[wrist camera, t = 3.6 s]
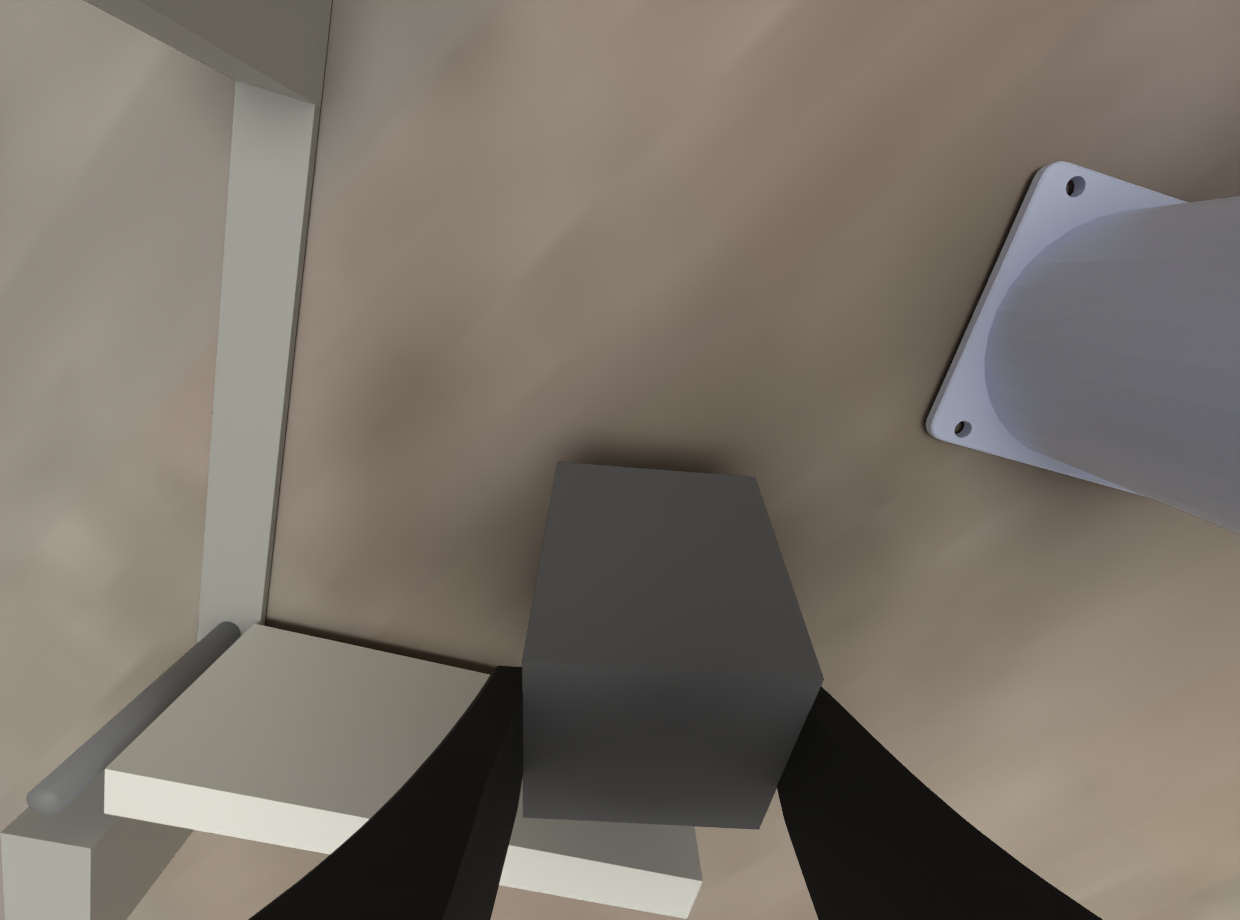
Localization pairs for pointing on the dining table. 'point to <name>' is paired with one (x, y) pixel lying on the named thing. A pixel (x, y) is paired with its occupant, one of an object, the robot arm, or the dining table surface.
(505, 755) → the robot arm
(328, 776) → the door
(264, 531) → the grey u-shaped bar
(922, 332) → the dining table surface
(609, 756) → the dark grey block
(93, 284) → the dining table surface
